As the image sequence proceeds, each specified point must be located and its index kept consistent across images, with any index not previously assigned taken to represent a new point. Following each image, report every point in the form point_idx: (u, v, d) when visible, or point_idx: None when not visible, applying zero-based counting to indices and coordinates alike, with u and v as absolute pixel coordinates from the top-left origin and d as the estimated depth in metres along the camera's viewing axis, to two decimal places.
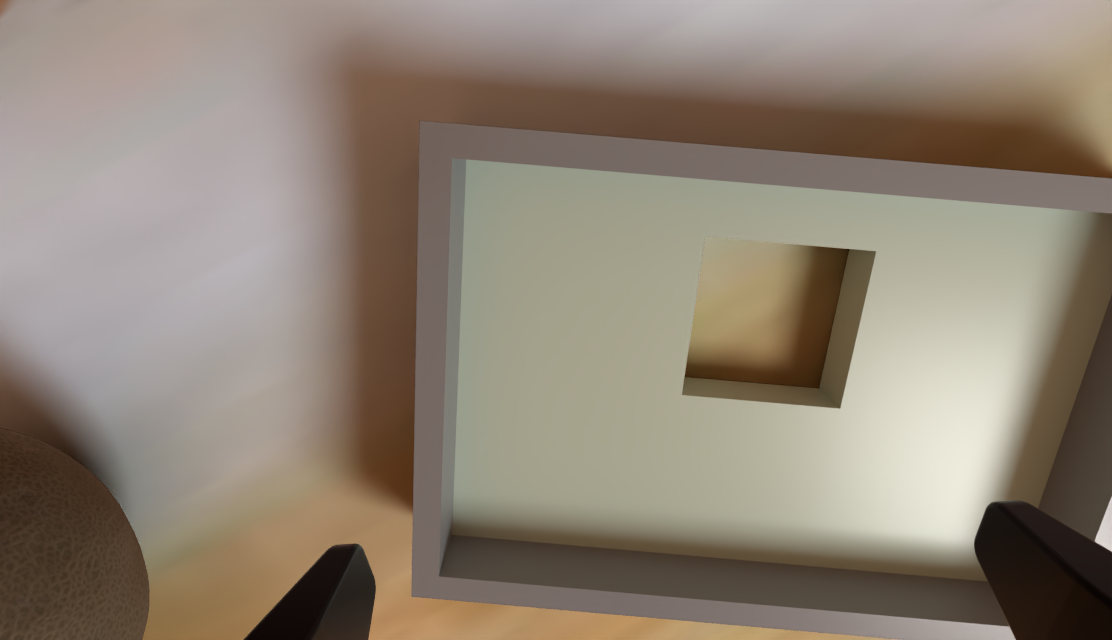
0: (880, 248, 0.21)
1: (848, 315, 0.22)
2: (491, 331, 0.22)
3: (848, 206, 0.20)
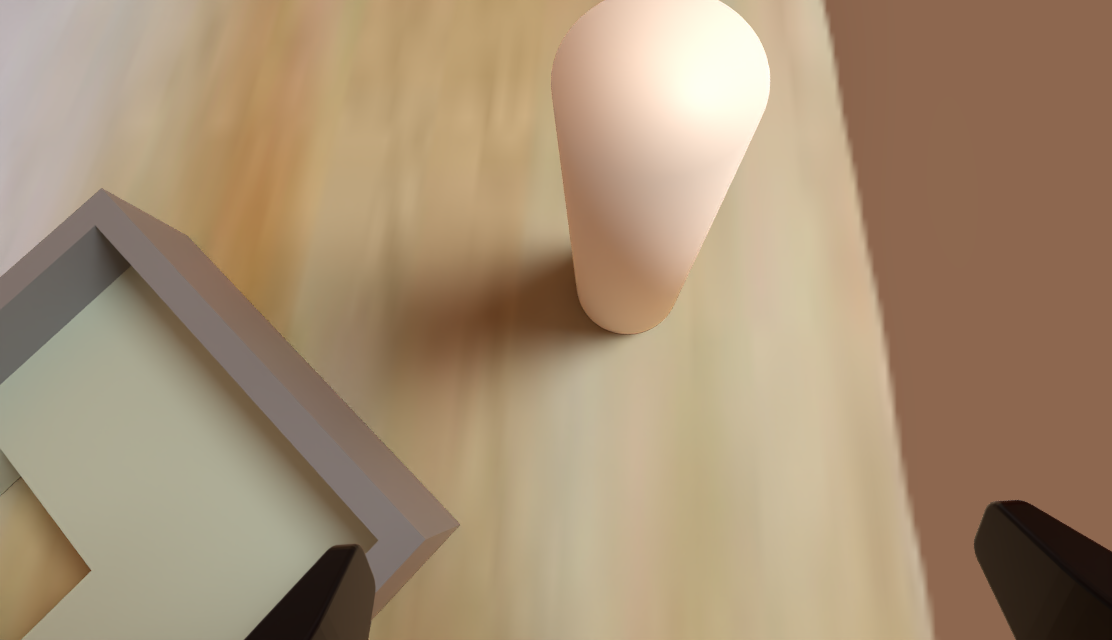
0: (1, 443, 0.22)
1: None
2: None
3: None
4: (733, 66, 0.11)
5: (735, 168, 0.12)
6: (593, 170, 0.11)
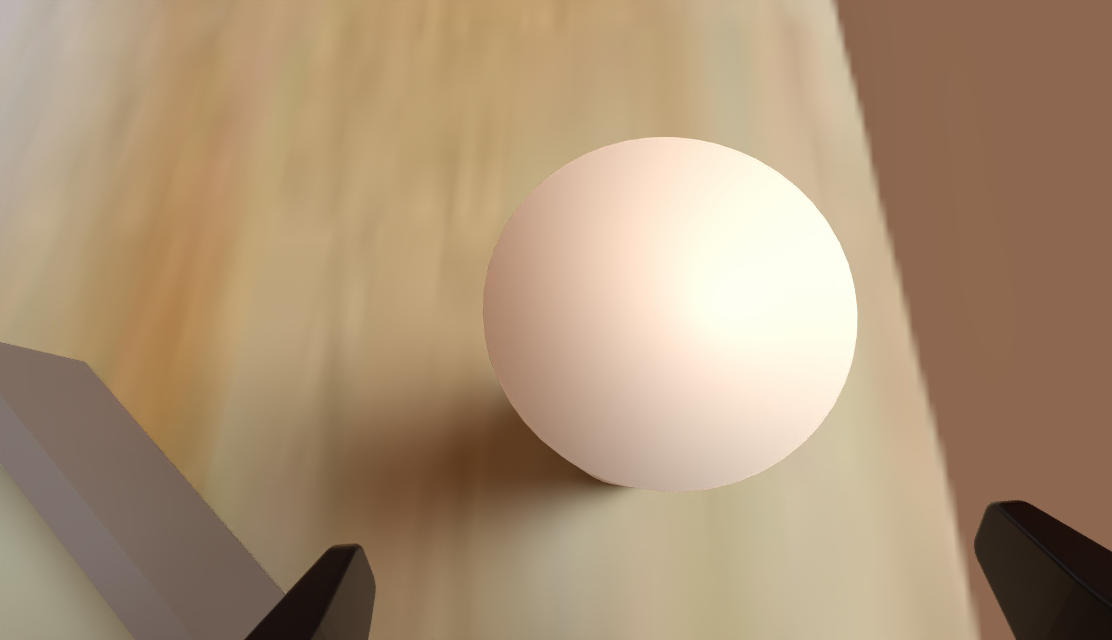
0: None
1: None
2: None
3: None
4: (791, 280, 0.06)
5: None
6: None
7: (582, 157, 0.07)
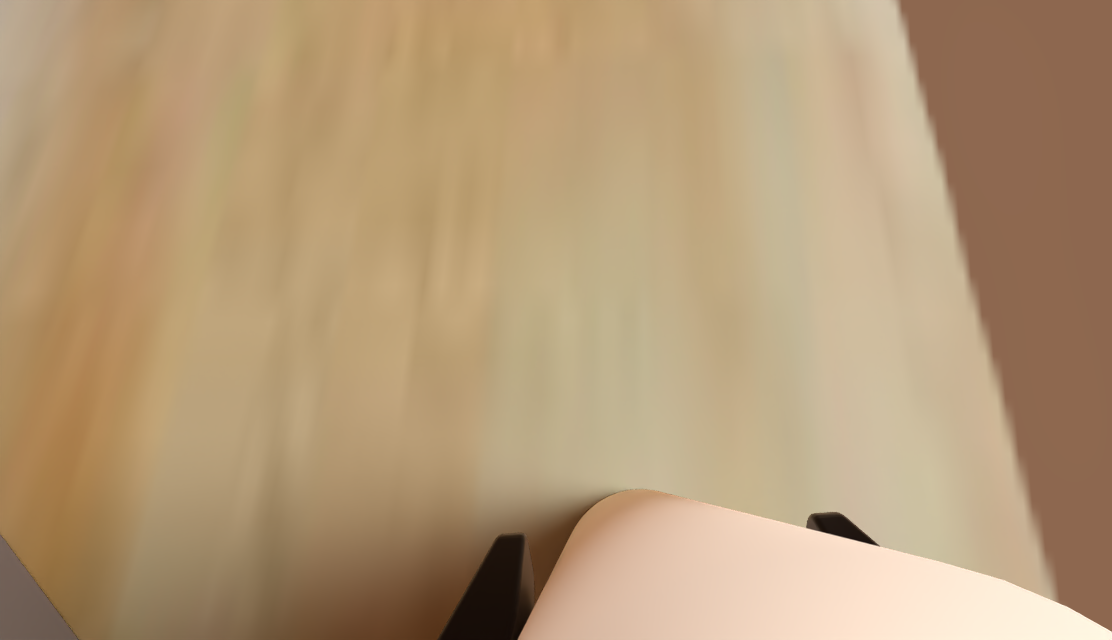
0: None
1: None
2: None
3: None
4: None
5: None
6: None
7: (636, 595, 0.03)
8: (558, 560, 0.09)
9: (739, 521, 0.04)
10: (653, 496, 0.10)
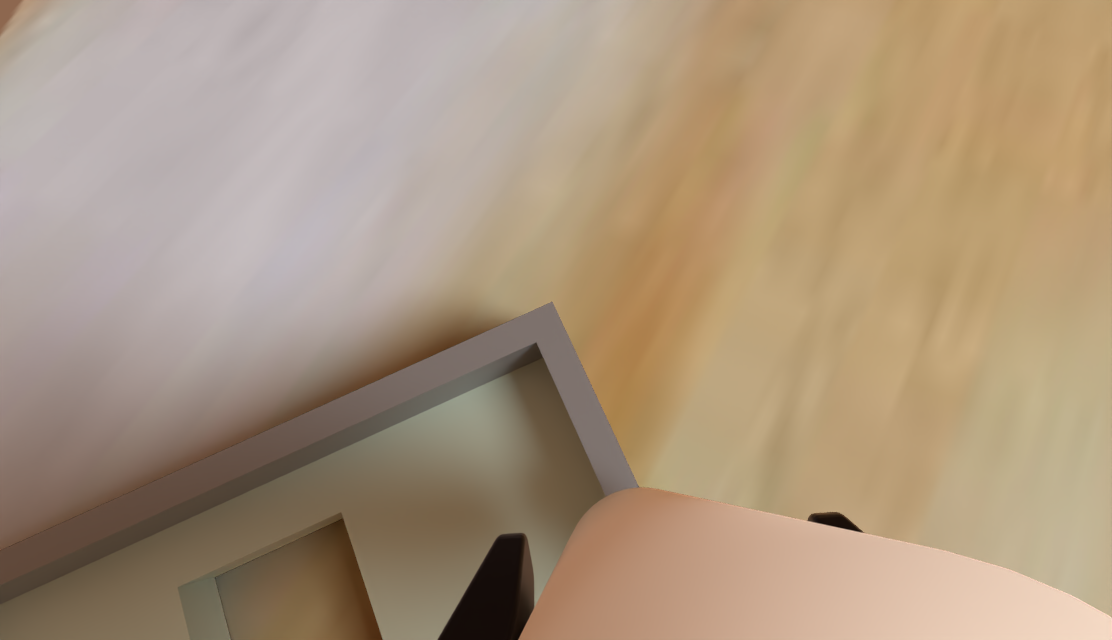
0: (343, 507, 0.20)
1: None
2: None
3: (294, 487, 0.21)
4: None
5: None
6: None
7: (640, 582, 0.03)
8: (560, 557, 0.09)
9: (743, 514, 0.04)
10: (655, 493, 0.10)
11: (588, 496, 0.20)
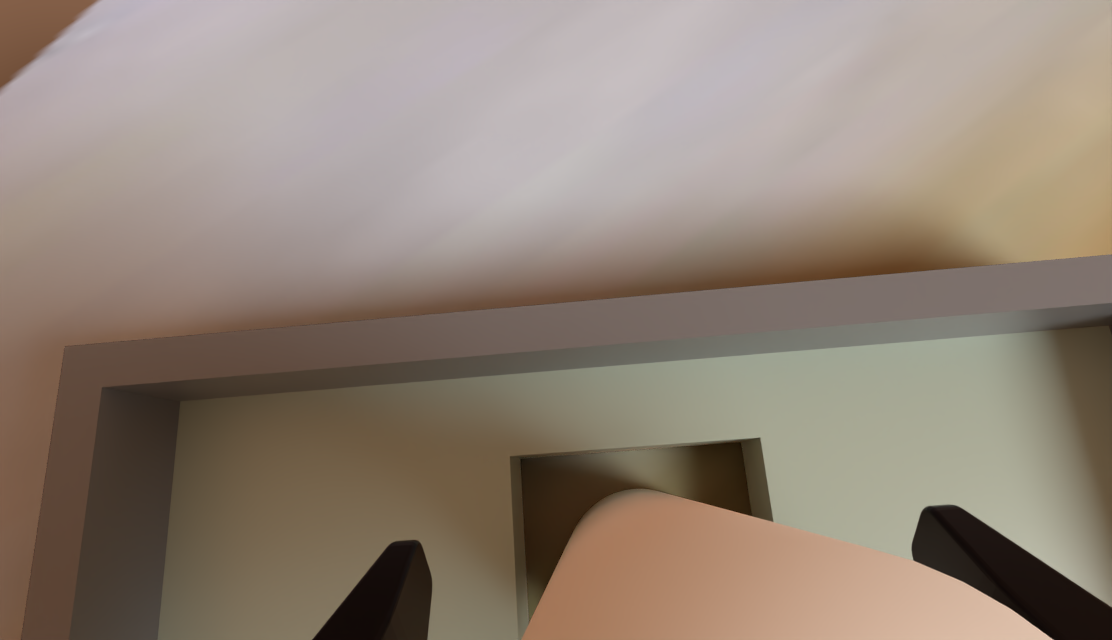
0: (764, 432, 0.14)
1: None
2: None
3: (697, 381, 0.14)
4: None
5: None
6: None
7: (630, 572, 0.03)
8: (563, 554, 0.09)
9: (721, 517, 0.05)
10: (650, 495, 0.11)
11: None
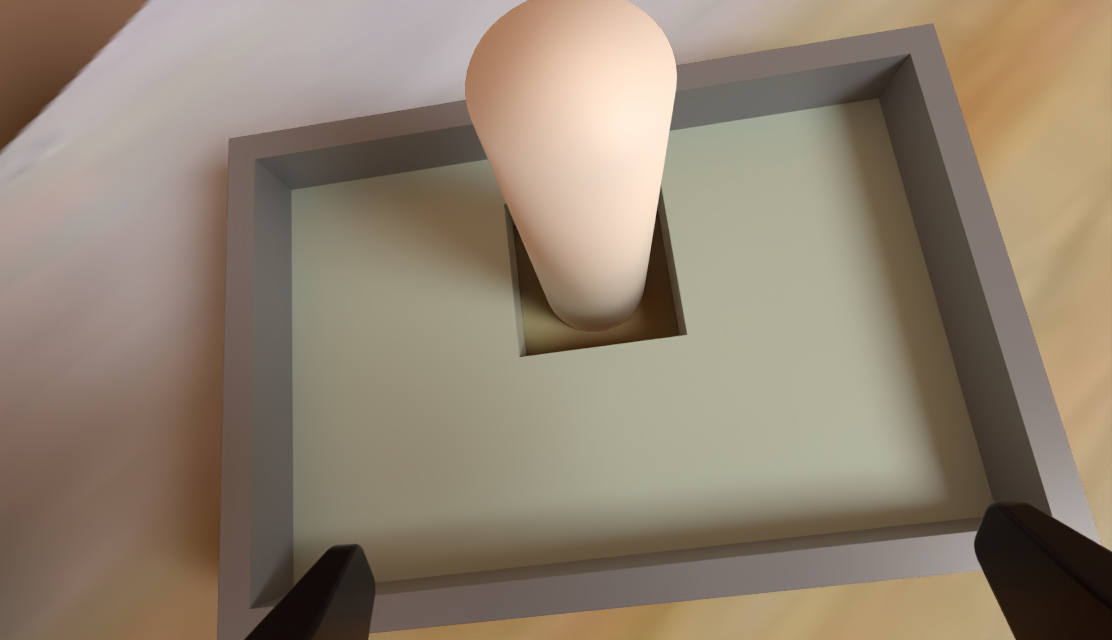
0: (663, 177, 0.22)
1: (669, 253, 0.23)
2: (322, 334, 0.22)
3: None
4: (640, 63, 0.11)
5: (656, 162, 0.12)
6: (513, 175, 0.11)
7: (520, 6, 0.12)
8: None
9: None
10: None
11: (897, 222, 0.21)
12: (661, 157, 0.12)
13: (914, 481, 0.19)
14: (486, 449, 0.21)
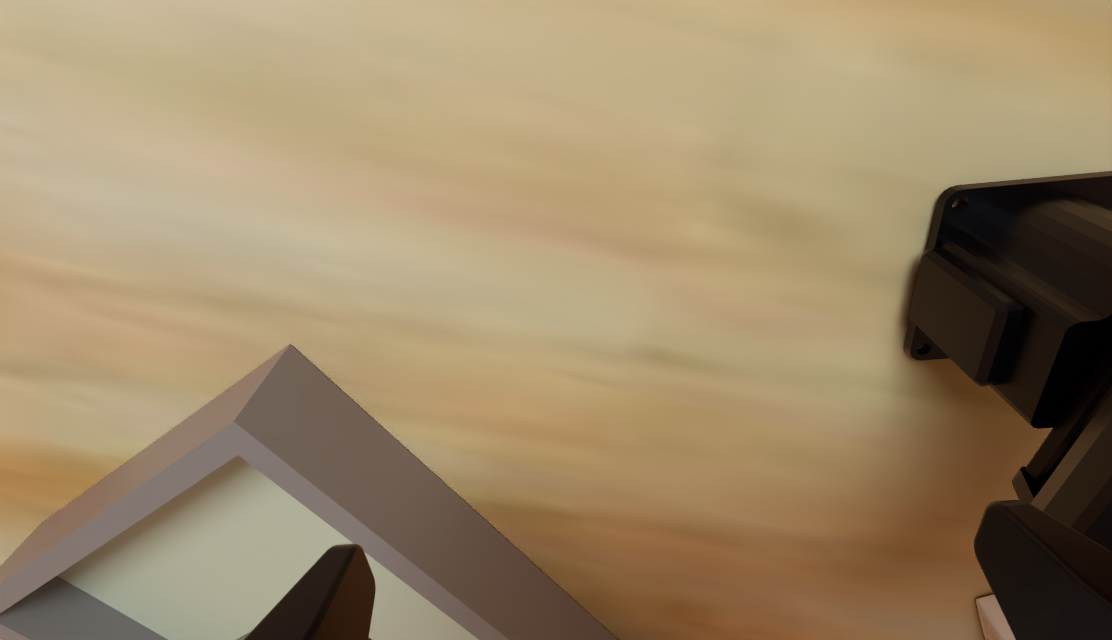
0: None
1: None
2: None
3: None
4: None
5: None
6: None
7: None
8: None
9: None
10: None
11: None
12: None
13: None
14: None
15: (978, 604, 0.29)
